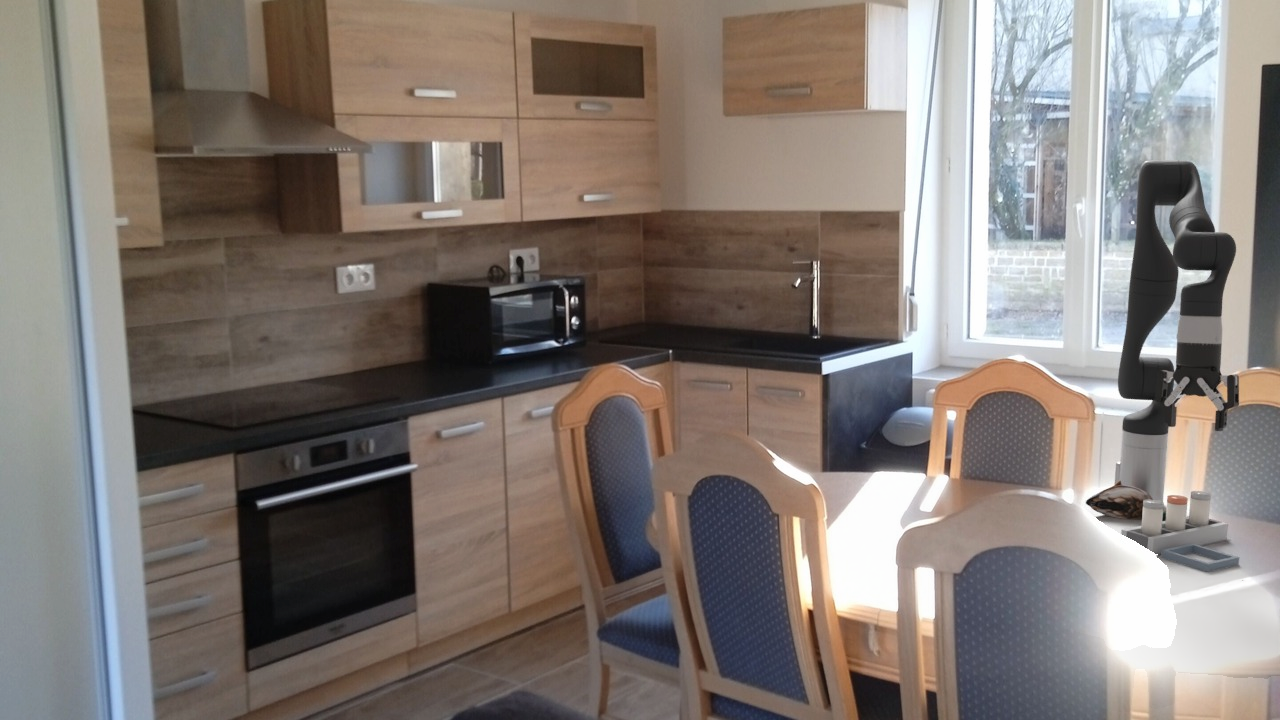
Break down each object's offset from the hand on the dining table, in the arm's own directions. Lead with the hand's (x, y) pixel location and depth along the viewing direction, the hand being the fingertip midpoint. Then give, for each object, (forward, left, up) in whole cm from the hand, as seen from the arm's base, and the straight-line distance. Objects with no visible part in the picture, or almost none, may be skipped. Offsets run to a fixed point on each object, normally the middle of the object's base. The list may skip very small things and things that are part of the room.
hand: (1194, 428), depth 230 cm
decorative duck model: (-23, +12, -26) cm, 36 cm away
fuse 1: (-7, -1, -24) cm, 25 cm away
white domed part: (-7, +13, -24) cm, 28 cm away
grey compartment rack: (-7, +6, -26) cm, 27 cm away
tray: (+3, 0, -26) cm, 26 cm away
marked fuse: (-7, +6, -24) cm, 26 cm away
